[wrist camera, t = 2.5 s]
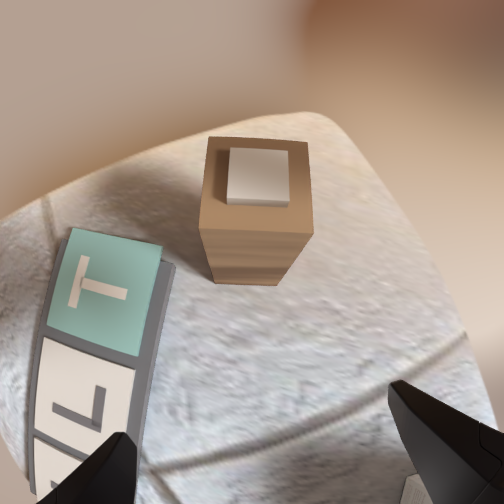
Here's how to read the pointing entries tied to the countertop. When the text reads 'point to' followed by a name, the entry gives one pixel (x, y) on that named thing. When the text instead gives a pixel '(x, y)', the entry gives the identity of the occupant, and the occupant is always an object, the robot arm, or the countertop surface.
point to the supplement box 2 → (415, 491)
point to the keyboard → (94, 351)
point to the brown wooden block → (255, 208)
